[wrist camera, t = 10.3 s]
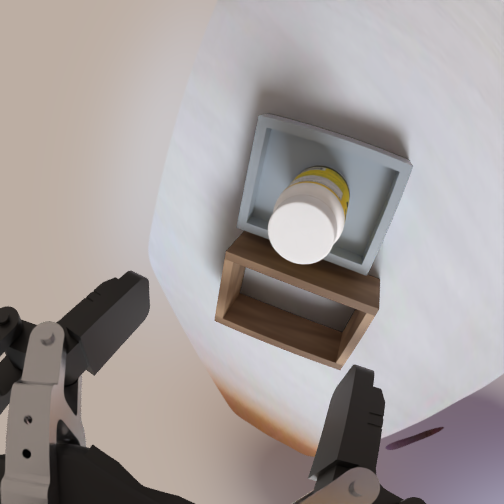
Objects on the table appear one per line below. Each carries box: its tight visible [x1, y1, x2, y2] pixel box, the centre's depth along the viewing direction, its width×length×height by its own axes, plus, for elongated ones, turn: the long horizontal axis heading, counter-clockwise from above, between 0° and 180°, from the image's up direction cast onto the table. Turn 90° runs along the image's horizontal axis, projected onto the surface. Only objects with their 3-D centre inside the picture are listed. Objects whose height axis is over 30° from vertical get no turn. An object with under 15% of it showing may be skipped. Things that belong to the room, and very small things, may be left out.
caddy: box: [215, 231, 380, 370], centre depth 29 cm, size 9×14×4 cm, turn 78°
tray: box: [236, 114, 413, 276], centre depth 24 cm, size 10×12×2 cm
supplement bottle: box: [268, 165, 350, 264], centre depth 21 cm, size 5×5×8 cm
